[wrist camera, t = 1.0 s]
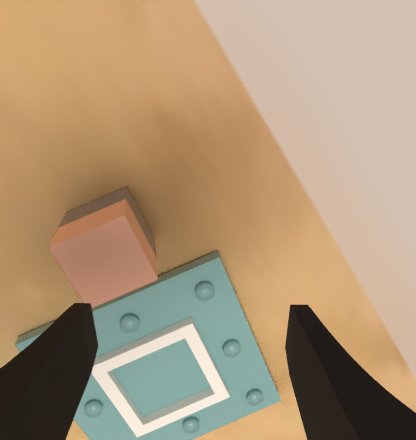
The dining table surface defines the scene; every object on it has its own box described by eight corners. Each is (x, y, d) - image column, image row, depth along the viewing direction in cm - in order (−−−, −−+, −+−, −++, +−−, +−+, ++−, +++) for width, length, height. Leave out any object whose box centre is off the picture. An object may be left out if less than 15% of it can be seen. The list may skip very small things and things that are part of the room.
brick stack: (98, 263, 27) (88, 309, 22) (66, 211, 25) (48, 248, 20) (154, 239, 27) (158, 279, 22) (127, 185, 25) (124, 215, 20)
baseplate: (116, 461, 34) (115, 481, 33) (18, 336, 28) (11, 353, 26) (277, 391, 34) (284, 407, 33) (216, 250, 28) (221, 262, 26)
